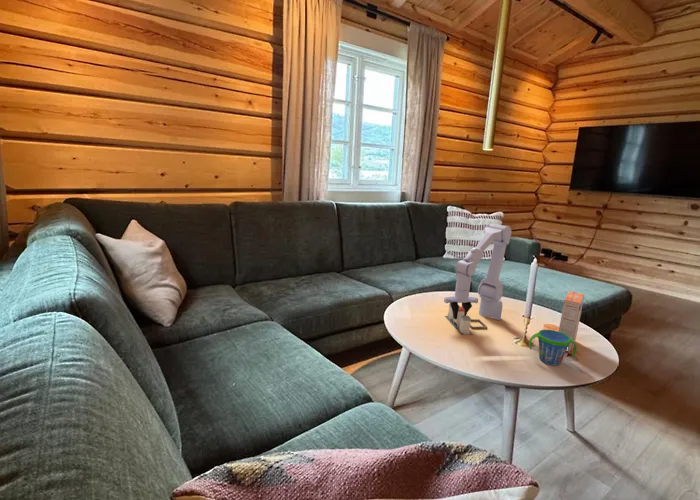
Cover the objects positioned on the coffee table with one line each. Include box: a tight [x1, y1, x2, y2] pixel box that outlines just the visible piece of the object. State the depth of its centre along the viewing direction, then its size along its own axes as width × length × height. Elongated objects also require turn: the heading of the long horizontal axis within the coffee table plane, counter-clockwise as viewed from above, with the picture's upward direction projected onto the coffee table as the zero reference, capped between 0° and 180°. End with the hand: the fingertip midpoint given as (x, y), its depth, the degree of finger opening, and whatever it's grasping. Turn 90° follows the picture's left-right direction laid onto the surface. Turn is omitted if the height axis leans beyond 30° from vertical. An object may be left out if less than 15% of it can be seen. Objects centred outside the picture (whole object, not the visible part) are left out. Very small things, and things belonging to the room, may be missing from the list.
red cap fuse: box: [454, 306, 465, 324], centre depth 164 cm, size 3×3×6 cm
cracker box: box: [558, 290, 585, 354], centre depth 152 cm, size 14×6×21 cm, turn 144°
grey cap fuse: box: [447, 303, 453, 320], centre depth 170 cm, size 3×3×6 cm
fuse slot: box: [459, 315, 472, 333], centre depth 158 cm, size 3×3×6 cm
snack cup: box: [528, 329, 578, 366], centre depth 140 cm, size 16×10×10 cm
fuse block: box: [444, 315, 473, 336], centre depth 165 cm, size 5×19×2 cm, turn 7°
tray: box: [470, 318, 488, 330], centre depth 166 cm, size 7×8×2 cm
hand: (458, 318), depth 164 cm, fingers closed on red cap fuse, 3 cm apart
